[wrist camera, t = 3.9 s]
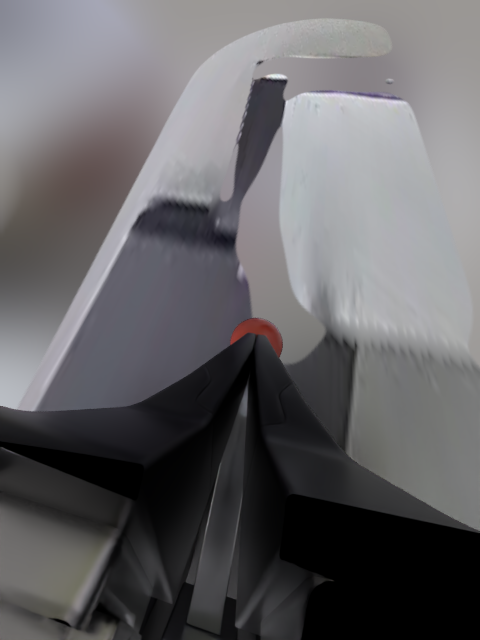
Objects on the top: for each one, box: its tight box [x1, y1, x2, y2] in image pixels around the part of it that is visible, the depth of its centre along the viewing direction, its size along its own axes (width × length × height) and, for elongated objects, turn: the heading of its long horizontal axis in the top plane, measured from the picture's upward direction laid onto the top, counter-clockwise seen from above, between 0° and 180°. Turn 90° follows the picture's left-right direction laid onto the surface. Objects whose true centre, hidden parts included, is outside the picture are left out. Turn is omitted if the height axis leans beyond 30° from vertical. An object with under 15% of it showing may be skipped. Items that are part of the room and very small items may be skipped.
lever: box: [161, 318, 283, 640], centre depth 8 cm, size 14×3×3 cm, turn 169°
